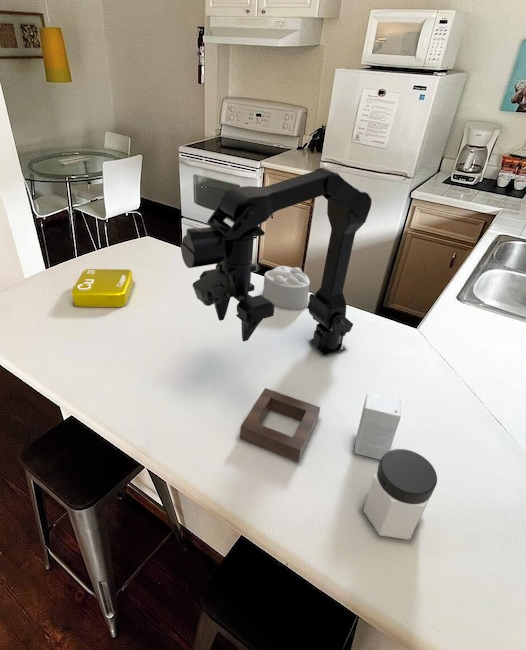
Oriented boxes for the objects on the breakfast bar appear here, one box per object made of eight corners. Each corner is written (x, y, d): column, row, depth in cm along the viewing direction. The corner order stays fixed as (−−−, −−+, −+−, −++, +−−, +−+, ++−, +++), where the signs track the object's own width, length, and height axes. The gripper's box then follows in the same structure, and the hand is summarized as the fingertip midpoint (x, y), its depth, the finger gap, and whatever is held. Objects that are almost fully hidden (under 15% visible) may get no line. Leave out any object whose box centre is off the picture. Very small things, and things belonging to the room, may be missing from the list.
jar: (378, 483, 78) (394, 438, 71) (425, 511, 74) (446, 465, 67) (355, 520, 72) (369, 474, 66) (404, 552, 68) (424, 506, 61)
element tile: (125, 307, 124) (123, 293, 122) (72, 307, 124) (68, 292, 122) (134, 281, 137) (133, 267, 134) (86, 280, 137) (83, 267, 134)
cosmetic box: (387, 445, 85) (402, 400, 78) (386, 462, 82) (401, 417, 75) (355, 436, 87) (366, 392, 80) (352, 453, 83) (364, 408, 77)
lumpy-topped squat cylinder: (282, 284, 136) (284, 258, 131) (315, 301, 128) (319, 274, 123) (258, 296, 130) (259, 270, 125) (292, 314, 122) (295, 287, 117)
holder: (264, 399, 95) (265, 387, 93) (318, 419, 90) (320, 407, 88) (239, 438, 86) (240, 426, 84) (298, 462, 82) (300, 450, 80)
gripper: (176, 249, 86) (177, 318, 94) (226, 286, 73) (222, 364, 80) (225, 241, 91) (222, 307, 99) (280, 274, 78) (271, 348, 86)
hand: (232, 330), depth 91 cm, fingers open, 9 cm apart
